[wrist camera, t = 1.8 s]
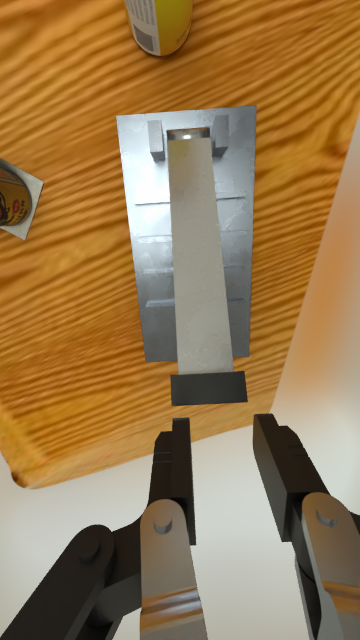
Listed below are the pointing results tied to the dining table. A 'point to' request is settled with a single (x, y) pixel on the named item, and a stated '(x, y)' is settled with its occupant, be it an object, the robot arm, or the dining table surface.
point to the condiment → (17, 199)
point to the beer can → (159, 23)
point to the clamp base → (155, 217)
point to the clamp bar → (199, 277)
